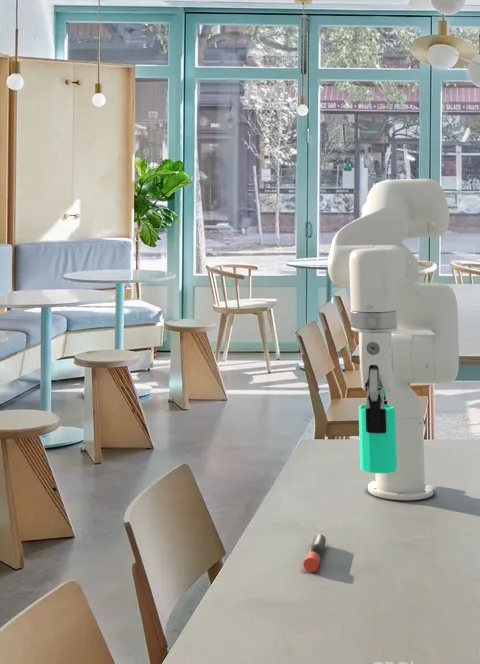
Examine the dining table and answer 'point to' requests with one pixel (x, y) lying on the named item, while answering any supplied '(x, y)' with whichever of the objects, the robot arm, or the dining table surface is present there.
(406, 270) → the robot arm
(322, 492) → the dining table surface
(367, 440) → the candle
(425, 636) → the dining table surface
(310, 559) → the marker
